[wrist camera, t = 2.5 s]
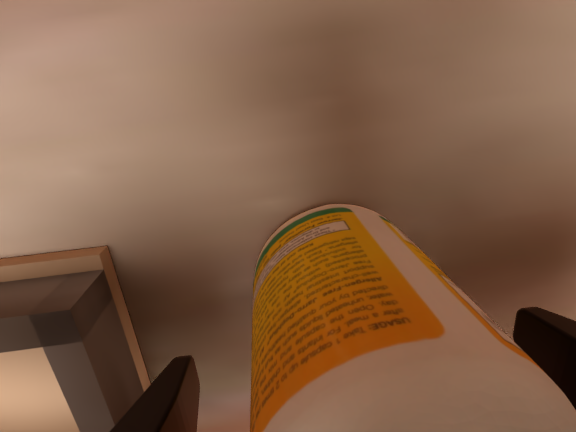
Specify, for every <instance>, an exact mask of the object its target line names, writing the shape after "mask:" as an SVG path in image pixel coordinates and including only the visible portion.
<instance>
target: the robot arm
mask: <svg viewBox="0 0 576 432" xmlns="http://www.w3.org/2000/svg"><path fill="white" fill-rule="evenodd" d="M513 339H514V342H515V343H516V344H517V345H518V346H519V347H520V348H521V349H522V350H523V351H524V352H525V353H526V354H527V355H528V356H529V357H530V358H531V359H532V360H533V361H534V362H535V363H536V364H537V365H538V366H539V367H540V368H541V369H542V370H543V371H544V372H545V373H546V374H547V375H548V376H549V377H550V378H551V379H552V381H553V382H554V383H555V384H556V385H557V386H558V387H559V388H560V389H561V391H562V392H563V393H564V394H565V395H566V397H567V398H568V400H569V401H570V402H571V404H572V405H573V407H574V408H575V410H576V321H574V320H571V319H568V318H566V317H563V316H560V315H558V314H555V313H552V312H549V311H547V310H544V309H541V308H538V307H529V308H522V309H519V310H518V312H517V314H516V320H515V325H514V331H513ZM199 393H200V384H199V378H198V374H197V370H196V366H195V362H194V359H193V357H192V356H191V355H187V356H180V357H175V358H174V359H173V360H172V361H171V362H170V363H169V364H168V365H167V367H166V368H165V369H164V370H163V371H162V372H161V373H160V375H159V376H158V377H157V378H156V379H155V380H154V381H153V383H152V384H151V385H150V386H149V387H148V388H147V389H146V390H145V392H144V393H143V394H142V395H141V396H140V397H139V398H138V400H137V401H136V402H135V403H134V404H133V405H132V406H131V408H130V409H129V410H128V411H127V412H126V413H125V414H124V415H123V417H122V418H121V419H120V420H119V421H118V422H117V423H116V425H115V426H114V427H113V428H112V429H111V430H110V431H109V432H197V419H198V406H199Z"/></svg>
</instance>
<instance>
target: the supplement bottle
mask: <svg viewBox="0 0 576 432" xmlns="http://www.w3.org/2000/svg"><path fill="white" fill-rule="evenodd" d="M250 432H576V410H575V408H574V407H573V405H572V404H571V402H570V401H569V400H568V398H567V397H566V395H565V394H564V393H563V392H562V391H561V389H560V388H559V387H558V386H557V385H556V384H555V383H554V382H553V381H552V379H551V378H550V377H549V376H548V375H547V374H546V373H545V372H544V371H543V370H542V369H541V368H540V367H539V366H538V365H537V364H536V363H535V362H534V361H533V360H532V359H531V358H530V357H529V356H528V355H527V354H526V353H525V352H524V351H523V350H522V349H521V348H520V347H519V346H518V345H517V344H516V343H515V342H514V341H513V340H512V339H511V338H510V337H509V336H508V335H507V334H506V333H505V332H504V331H503V330H501V329H500V328H499V327H498V326H497V325H496V324H495V323H494V322H493V321H492V320H491V319H490V318H489V317H488V316H487V315H486V314H485V313H484V312H483V311H482V310H481V309H480V308H479V307H478V306H477V305H476V304H475V303H474V302H473V301H472V300H471V299H470V298H469V297H468V296H467V295H466V294H465V293H464V292H463V291H462V290H461V289H460V288H459V287H458V286H456V285H455V284H454V283H453V282H452V281H451V280H450V279H449V278H448V277H447V276H446V275H445V274H444V273H443V272H442V271H441V270H440V269H439V268H438V267H437V266H436V265H435V264H434V263H433V262H432V261H431V260H430V259H429V258H428V257H427V256H426V255H425V254H424V253H423V252H422V251H421V250H420V249H419V248H418V247H417V246H416V245H415V244H414V243H413V242H412V241H411V240H410V239H409V238H408V237H407V236H406V235H405V234H404V233H403V232H402V231H401V230H399V229H398V228H397V227H396V226H395V225H394V224H393V223H392V222H390V221H389V220H388V219H386V218H385V217H384V216H382V215H380V214H379V213H377V212H375V211H372V210H370V209H367V208H364V207H361V206H356V205H350V204H328V205H324V206H320V207H317V208H314V209H311V210H308V211H306V212H303V213H301V214H299V215H297V216H295V217H293V218H291V219H290V220H288V221H287V222H285V223H284V224H283V225H282V226H280V227H279V228H278V229H277V230H276V231H275V232H274V233H273V234H272V235H271V237H270V238H269V239H268V240H267V242H266V244H265V245H264V247H263V248H262V250H261V253H260V255H259V257H258V260H257V263H256V267H255V271H254V283H253V311H252V369H251V415H250Z"/></svg>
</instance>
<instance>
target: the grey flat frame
mask: <svg viewBox="0 0 576 432" xmlns="http://www.w3.org/2000/svg"><path fill="white" fill-rule="evenodd" d="M150 385H151V383H150V380H149V377H148V374H147V371H146V368H145V364H144V361H143V358H142V355H141V352H140V349H139V345H138V342H137V339H136V336H135V333H134V329H133V326H132V323H131V320H130V317H129V314H128V310H127V307H126V304H125V301H124V298H123V295H122V291H121V288H120V285H119V282H118V279H117V275H116V272H115V269H114V266H113V263H112V260H111V256H110V253H109V250H108V247H107V246H103V247H95V248H86V249H78V250H70V251H61V252H53V253H45V254H36V255H28V256H20V257H12V258H3V259H0V432H109V431H110V430H111V429H112V428H113V427H114V426H115V425H116V423H117V422H118V421H119V420H120V419H121V418H122V417H123V415H124V414H125V413H126V412H127V411H128V410H129V409H130V408H131V406H132V405H133V404H134V403H135V402H136V401H137V400H138V398H139V397H140V396H141V395H142V394H143V393H144V392H145V390H146V389H147V388H148V387H149V386H150Z"/></svg>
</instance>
